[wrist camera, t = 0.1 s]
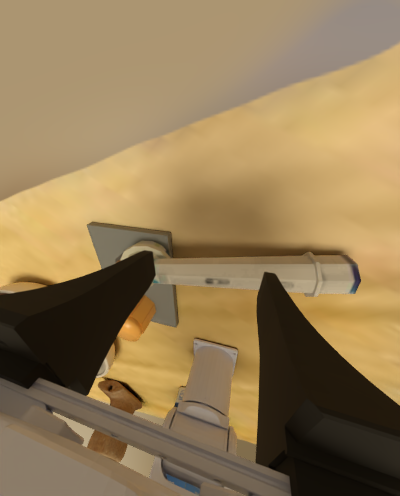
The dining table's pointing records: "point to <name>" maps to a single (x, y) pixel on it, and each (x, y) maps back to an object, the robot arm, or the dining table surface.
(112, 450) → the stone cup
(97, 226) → the charcoal board
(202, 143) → the dining table surface
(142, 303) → the orange cap
